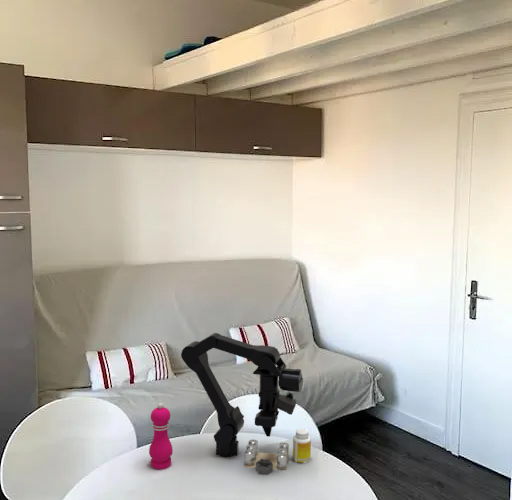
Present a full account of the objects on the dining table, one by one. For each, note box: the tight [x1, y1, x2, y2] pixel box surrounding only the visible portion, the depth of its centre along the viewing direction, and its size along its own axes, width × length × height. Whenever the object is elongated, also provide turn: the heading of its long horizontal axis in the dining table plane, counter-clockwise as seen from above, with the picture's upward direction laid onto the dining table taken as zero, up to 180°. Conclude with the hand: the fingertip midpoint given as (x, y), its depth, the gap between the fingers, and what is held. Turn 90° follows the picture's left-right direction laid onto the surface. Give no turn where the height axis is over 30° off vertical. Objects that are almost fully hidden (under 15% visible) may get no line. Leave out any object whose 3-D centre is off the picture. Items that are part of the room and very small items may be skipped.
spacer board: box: [243, 451, 287, 472], centre depth 179 cm, size 13×14×1 cm
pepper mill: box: [148, 402, 174, 470], centre depth 179 cm, size 7×7×20 cm
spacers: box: [244, 439, 290, 471], centre depth 181 cm, size 13×10×4 cm
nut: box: [255, 459, 274, 476], centre depth 175 cm, size 5×4×3 cm
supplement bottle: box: [292, 428, 312, 464], centre depth 182 cm, size 6×6×10 cm
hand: (268, 436), depth 181 cm, fingers closed
